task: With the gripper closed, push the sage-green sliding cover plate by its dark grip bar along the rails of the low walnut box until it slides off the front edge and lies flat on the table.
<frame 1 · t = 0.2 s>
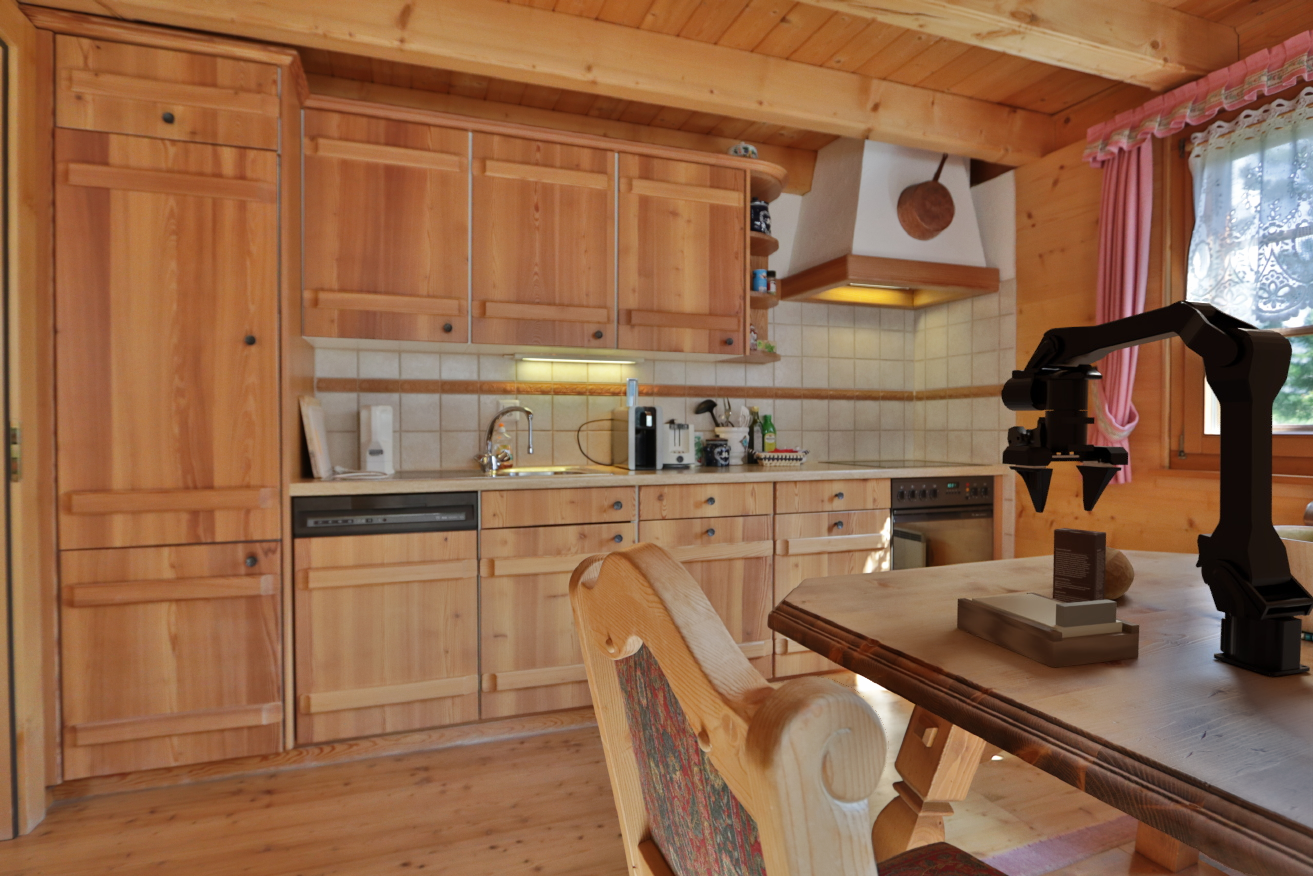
hand: (1063, 511, 109), 14 cm above the table, tool pointing down, fingers open, 9 cm apart
box: (1077, 610, 107), on the table
cover plate: (1042, 618, 91), point 3 cm above the table, touching walnut box
walnut box: (1041, 641, 91), on the table
bread roll: (1098, 595, 117), on the table
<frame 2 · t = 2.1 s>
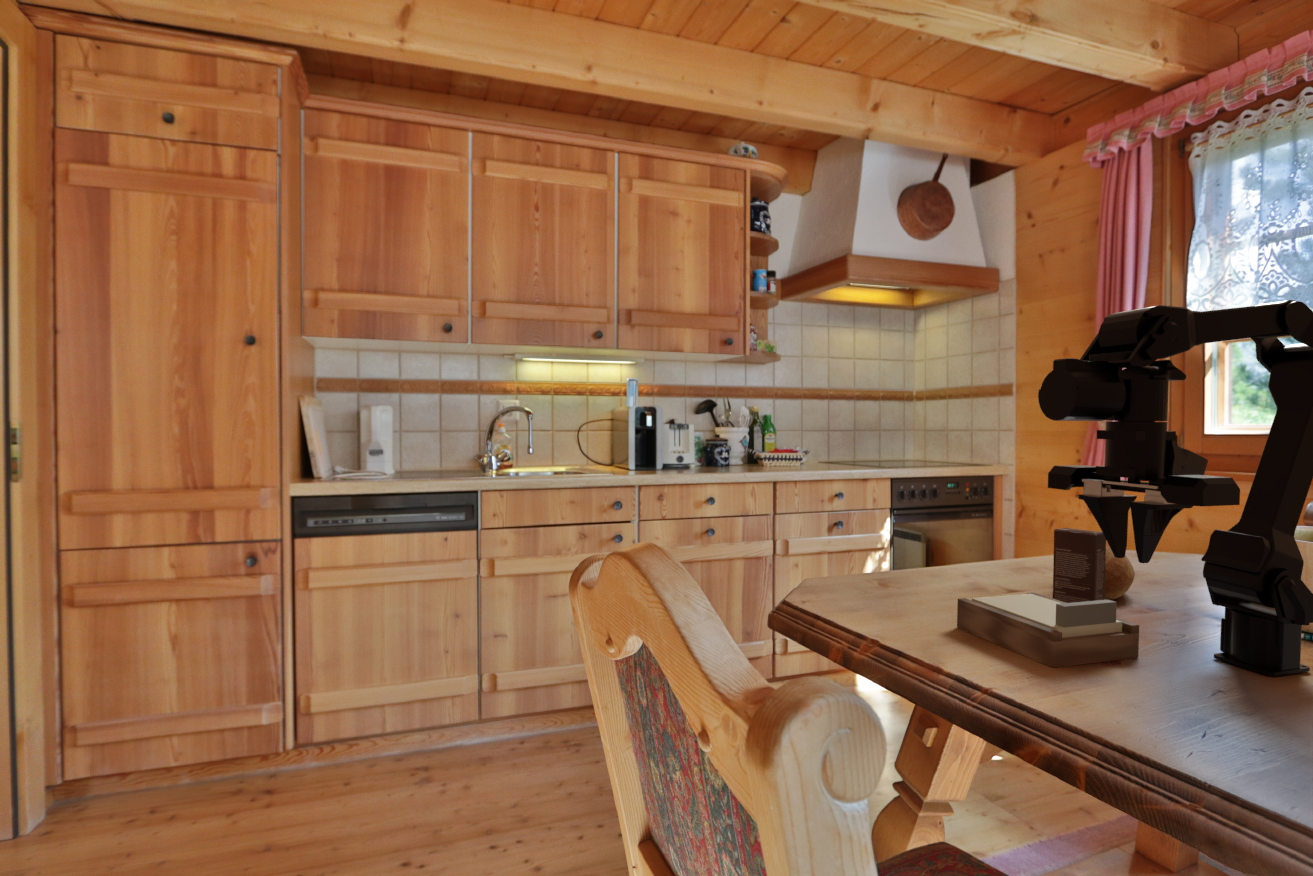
hand: (1131, 560, 80), 13 cm above the table, tool pointing down, fingers open, 3 cm apart
nothing on the table moved.
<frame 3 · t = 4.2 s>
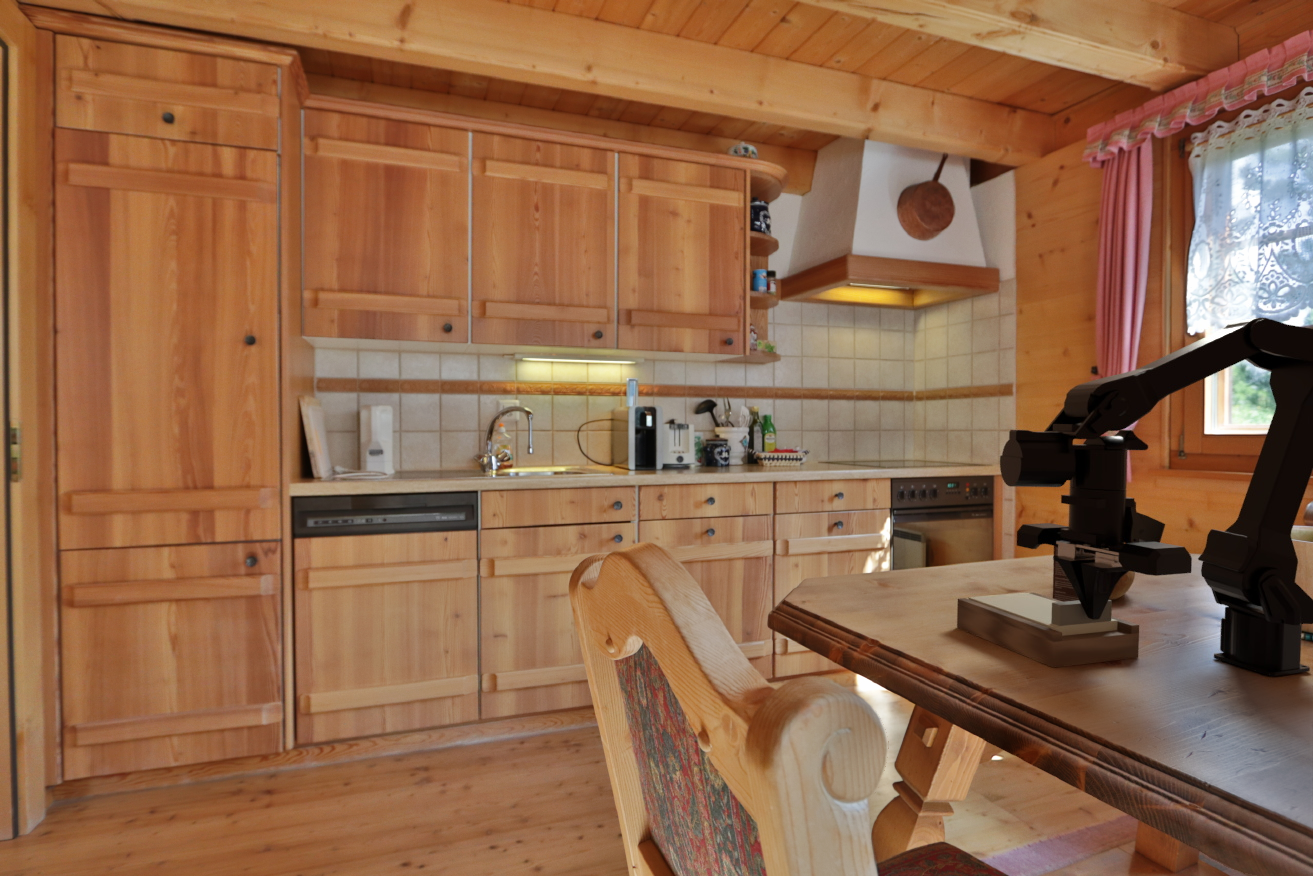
hand: (1093, 618, 84), 5 cm above the table, tool pointing down, fingers closed
cover plate: (1038, 617, 92), point 3 cm above the table, touching gripper, walnut box
everything else where it was.
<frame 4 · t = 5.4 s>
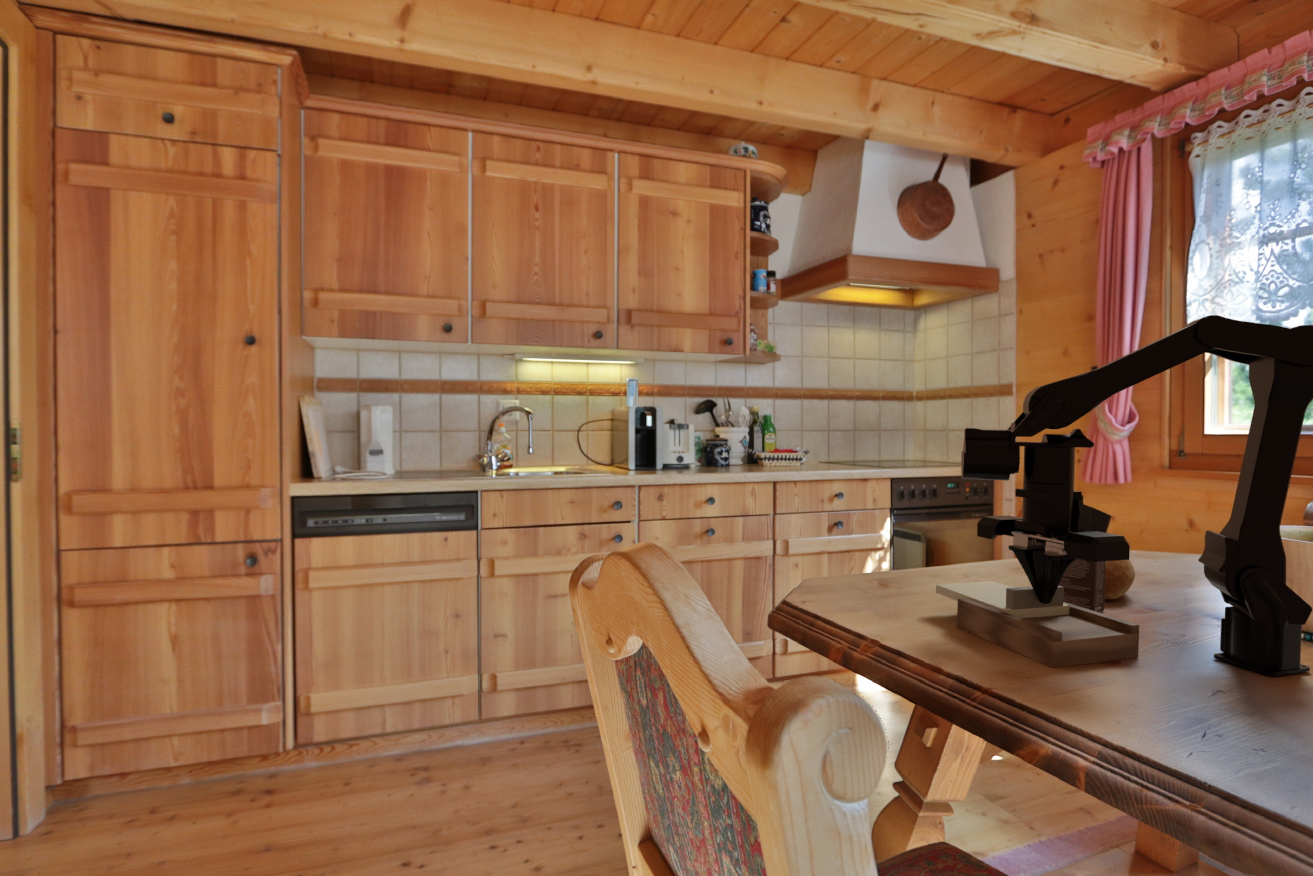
hand: (1045, 603, 91), 5 cm above the table, tool pointing down, fingers closed
cover plate: (998, 603, 99), point 3 cm above the table, touching walnut box
everything else where it was.
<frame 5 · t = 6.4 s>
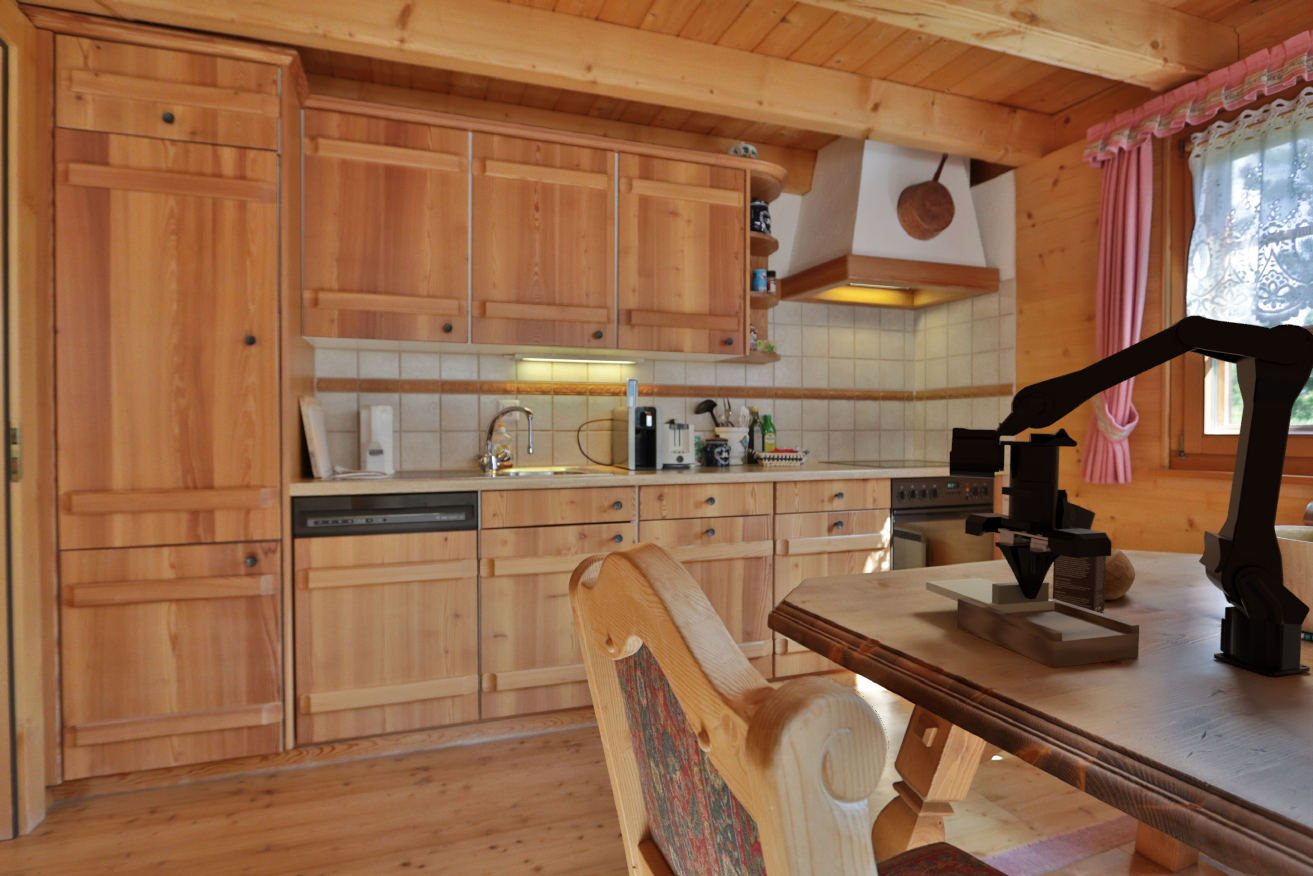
hand: (1030, 598, 93), 5 cm above the table, tool pointing down, fingers closed
cover plate: (986, 598, 101), point 3 cm above the table, touching gripper, walnut box
everything else where it was.
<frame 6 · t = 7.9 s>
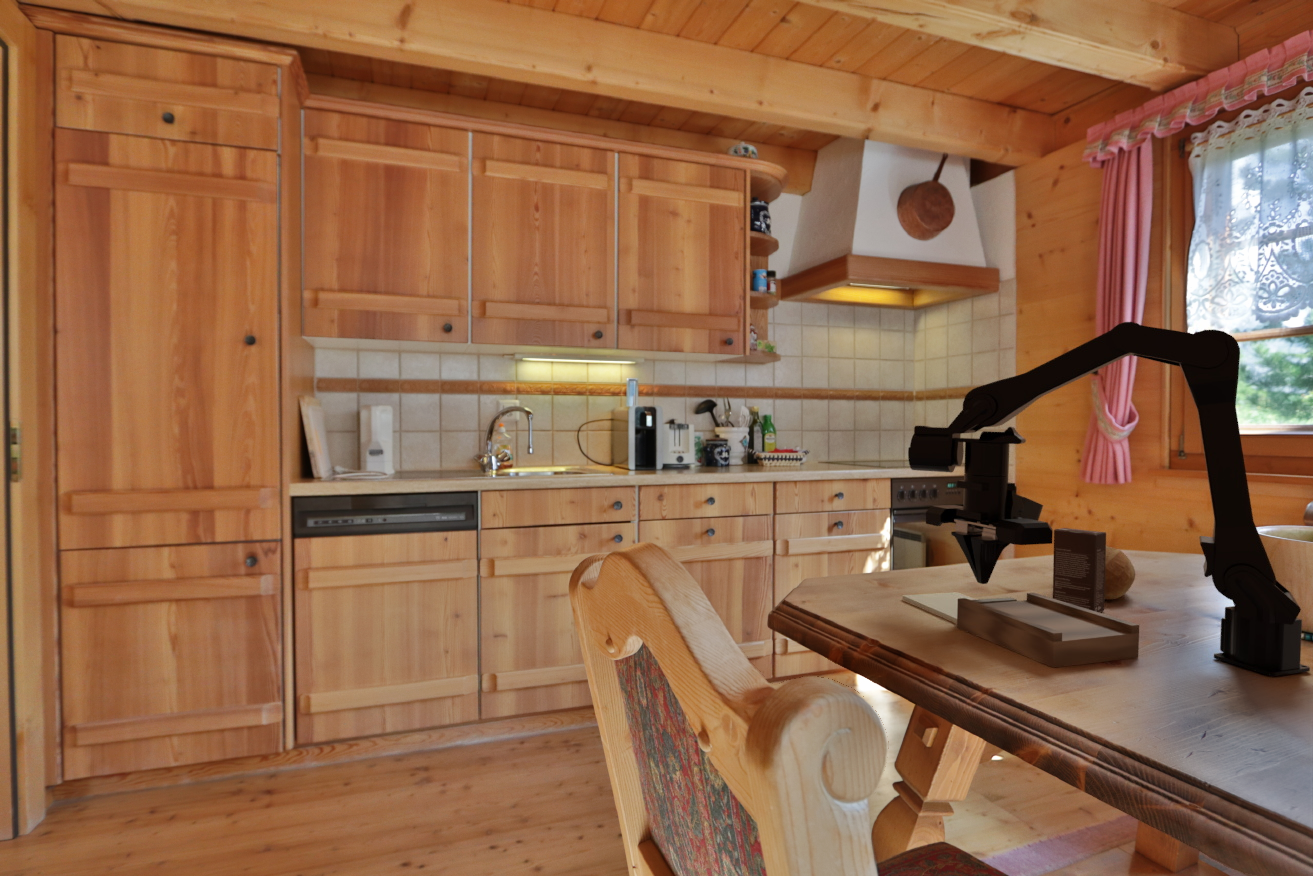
hand: (982, 583, 101), 5 cm above the table, tool pointing down, fingers closed
cover plate: (958, 613, 106), on the table
everything else where it was.
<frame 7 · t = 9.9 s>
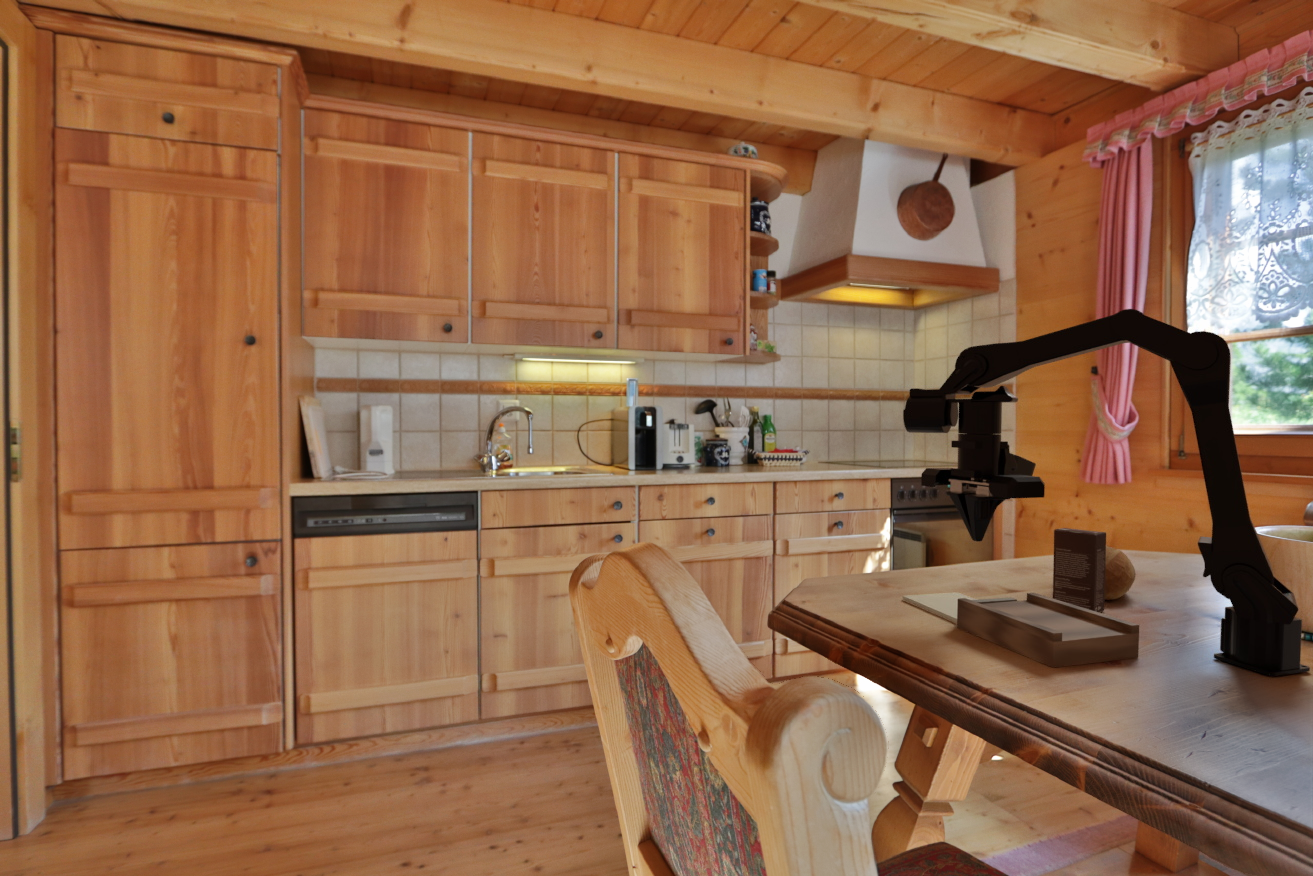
hand: (977, 541, 103), 11 cm above the table, tool pointing down, fingers closed
nothing on the table moved.
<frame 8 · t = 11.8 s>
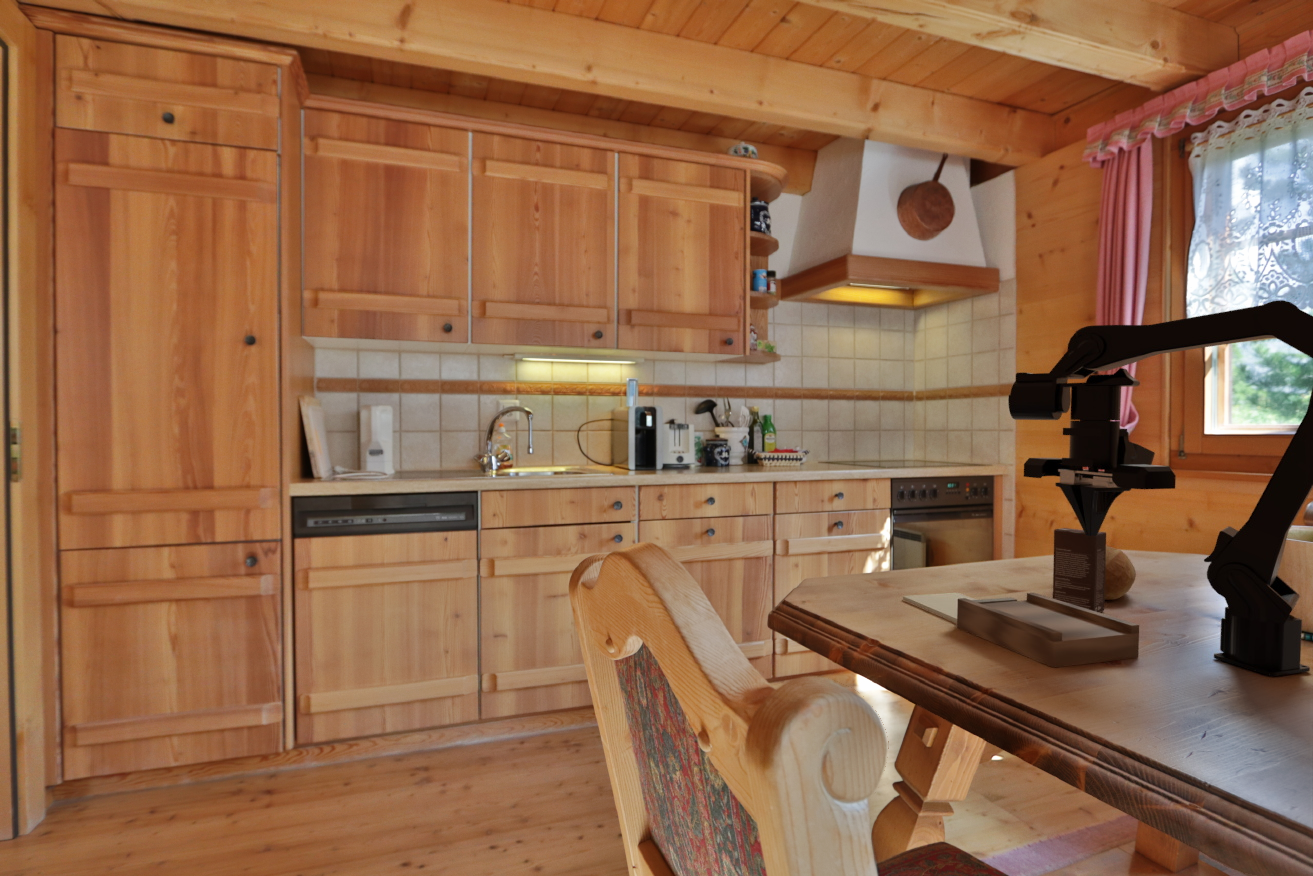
hand: (1091, 535, 96), 13 cm above the table, tool pointing down, fingers closed
nothing on the table moved.
at the end: cover plate inside the target area (5.2 cm from its centre), on the table; cover plate tilted 0°; cover plate touching table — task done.
